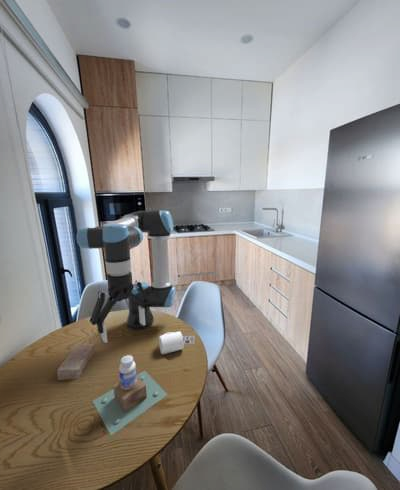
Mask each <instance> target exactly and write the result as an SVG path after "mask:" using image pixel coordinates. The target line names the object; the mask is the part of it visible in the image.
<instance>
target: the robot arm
mask: <svg viewBox="0 0 400 490" xmlns="http://www.w3.org/2000/svg"><path fill="white" fill-rule="evenodd" d="M173 231H174V221H173V219H172V215H171V213H170V211H168V210H161V209H160V210H138V211H135V212H134V211H133V212H131V213H128V214H124V215H123V216H121V218H119V219H117V220H113V221H111V222H107V223H105V224H101V225H98V226H95V227H82V228H79V229H78V231H77V232H76V235H75V236H76V237H75V238H76V243H77V245H78V247H80V248H82V249H89V250H92V249H103V251H104V256H105V267H106V268H105V269H106V274H107V275H106V279H107V280H106V281H107V286H108V287H107V290H105V291H101V290H98V292H97V300H96V303H95V305H94V308H93V311H92V313H91V316H90V319H89V323H90V324H91V325H93V326H95V325H96V328H97V332H98V334H101V340H102V341H103V343H105V344H106V343H108V335H107V334H108V333H107V325H106V322H105V320H106V318H107V317H108V315H109V313H110V312H111V310H112V308H113V307H114V305H117V302H121V301H123V300H127V302H128V315H127V319H126V327H127V328H128V329H131V330H144V329H146V328H148V327H151V326H152V325H153V323H154V320H155V319H154V315H153V313H152V310H151V308H171V307H172V306H173V305H174V301H175V297H176V287H175V285H173V282H172V281H171V280H170V267H169V263H170V262H169V244H168V242H169V241H168V240H169V239H168V238H170V237H171V233H173ZM143 233H147V234H148V237H149V239H150V240H151V253H152V255H151V256H152V257H151V258H152V269H153V270H152V272H153V273H152V275H153V281H152V283H151V284H150V285H149V283H148V282H145V281H144V282H143V281H142V282H140V281H139V280H135V281H134V282H133V273H132V262H131V249H134V248H136V247H138V246H139V245H140V244H141V243H142V242H143V240H144V235H143ZM108 296H109V297H108ZM107 297H108V299H107ZM106 299H107V301H106ZM105 301H106V302H105Z"/></svg>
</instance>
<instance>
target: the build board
mask: <svg viewBox="0 0 400 490" xmlns="http://www.w3.org/2000/svg"><path fill="white" fill-rule="evenodd" d="M136 375H137V376H138V377H139V378H140V379H141V380H142V381H143V383H144V384H145V385H146V394H147V398H146V399H144V400H143V401H141V402H140V403H139V404H137V405H136V406H134V407H133V408H131V409H130V410H128V411H127V412H125V413H124V411H123V410H122V408H121V407H120V405H119V404H118V402H117V400H116V399H115V396H114V388H113V389H111V390H109V391H107V392H106V393H104V394H102V395H100V396H99V397H97V398H96V399H93V400H92V403H93V404H94V406H95V408H96V410H97V412H98V413H99V416H100V418H101V420H102V422H103V424H104V426H105V428H106V430H107V431H108V433H109V435H110V437H111V436H113V435H114V434H115V433H117V432H119V431H120V430H122V429H123V428H124V427H126V426H127V425H128V424H130V423H131V422H132V421H134V420H135V419H137V418H138V417H140V416H141V415H142V414H143V413H145V412H146V411H147V410H149V409H150V408H151V407H153V406H154V405H156V404H157V403H158V402H160V401H161V400H162V399H164V398H165V397H166V396H168V393H167V392H166V390H164V389H163V388H162V387H161V386H160V385H159V384H158V382H156V380H155V379H154V378H153V377H152V376H151V375H150V374H149V373H148V372H147V371H146V370H143V371H141V372H139V373H138V374H136Z"/></svg>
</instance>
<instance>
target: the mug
mask: <svg viewBox="0 0 400 490" xmlns="http://www.w3.org/2000/svg"><path fill="white" fill-rule="evenodd" d="M158 343H159V344H158V345H159V350H160V353H161V355H166V354H171V353H173V352H177V351H180V350H184V347H185V346H184V344H185V342H184V338H183V335H182V331H175V332H173V331H170V332H169V331H168V332H166V333H164V334H162V335H159V336H158Z"/></svg>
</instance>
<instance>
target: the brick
mask: <svg viewBox="0 0 400 490" xmlns="http://www.w3.org/2000/svg"><path fill="white" fill-rule="evenodd" d="M94 348H95V347H94V344H93V343H84V344H83V343H82V344H78V345H74V346H73V347H72V349H71V351H70V353H69V354H68V355H67V357H66V358H65V359H64V360H63V361H62V363H61V364H60V366H59V367H58V368H57V370H56V371H57V380H59V381H64V380H77V379H79V378H80V376H81V374H82V373H83V371H84V369H85V368H86V366H87V365H88V363H89V361H90V359H91V358H92V356H93V354H94V351H95V349H94Z"/></svg>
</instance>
